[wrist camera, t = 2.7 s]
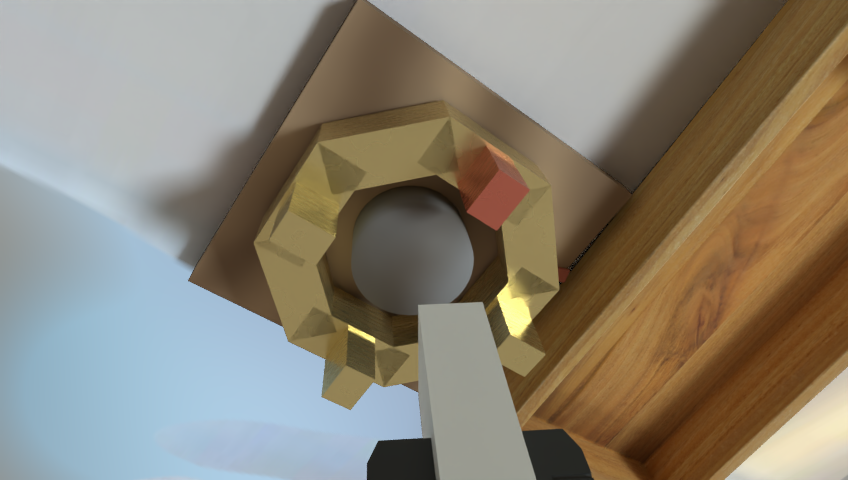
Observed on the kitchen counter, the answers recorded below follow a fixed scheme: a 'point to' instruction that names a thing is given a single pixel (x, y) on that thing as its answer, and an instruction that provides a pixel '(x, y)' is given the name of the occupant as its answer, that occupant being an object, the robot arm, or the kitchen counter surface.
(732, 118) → the tray
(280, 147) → the walnut base
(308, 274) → the ring nut
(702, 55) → the kitchen counter surface
